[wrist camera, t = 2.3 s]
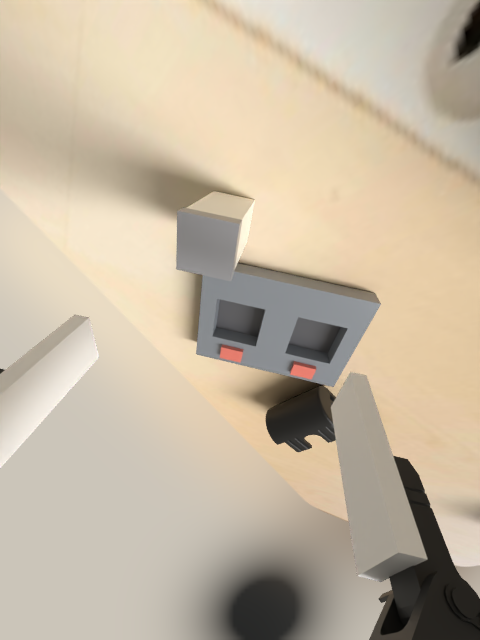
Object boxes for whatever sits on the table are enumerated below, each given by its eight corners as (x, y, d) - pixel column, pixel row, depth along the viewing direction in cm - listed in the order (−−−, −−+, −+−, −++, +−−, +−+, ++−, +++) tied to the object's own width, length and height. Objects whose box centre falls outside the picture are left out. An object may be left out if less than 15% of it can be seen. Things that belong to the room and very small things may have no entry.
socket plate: (209, 256, 31) (202, 266, 28) (374, 293, 30) (382, 306, 28) (201, 343, 39) (194, 357, 37) (331, 373, 38) (334, 390, 36)
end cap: (316, 374, 39) (320, 412, 33) (343, 400, 41) (351, 439, 36) (266, 398, 44) (263, 434, 38) (293, 420, 46) (293, 457, 41)
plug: (212, 189, 27) (177, 210, 18) (256, 198, 27) (239, 224, 18) (209, 233, 29) (176, 269, 21) (248, 242, 29) (230, 281, 21)
